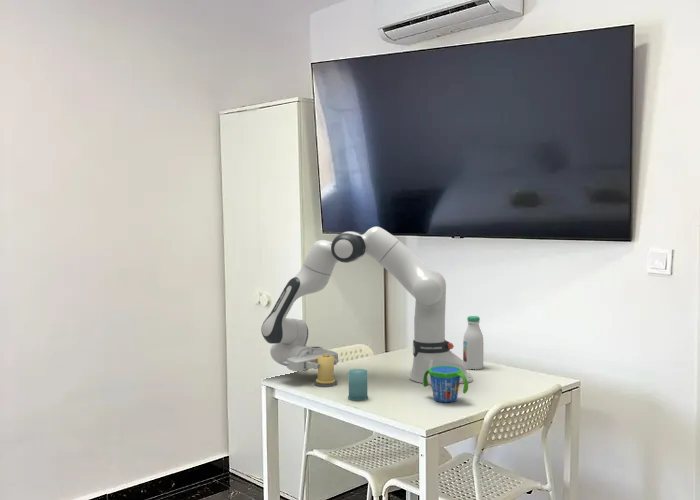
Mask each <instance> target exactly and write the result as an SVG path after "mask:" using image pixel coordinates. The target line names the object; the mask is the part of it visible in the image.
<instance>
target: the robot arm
mask: <svg viewBox="0 0 700 500" xmlns="http://www.w3.org/2000/svg"><path fill="white" fill-rule="evenodd" d="M364 255H368V256H370V257H371V258H372V259H374V260H375V261H376V262H377V263H379V265H381V267H383V268H384V269H385V270H386V271H388V273H390V275H392V276H393V277H394V278H395V279H396V280H397V281H398V282H399V283H400V284H401V285H402V286H403V288H405V290H407V292H408V293H409V294H410V295H411V296H412V297H413V298H414V299H415V302H414V303H415V306H414V318H413V319H414V321H413V324H414V325H413V328H414V330H413V334H414V335H413V336H414V337H413V338H414V339H413V340H412V355H413V359H412V360H413V362H412V367H411V372H410V376H409V379H410V380H411V381H413V382H417V383H422V384H423V378H424V374H425V372H426V371H427V370H429V369H430V368H431V367H435V366H454V367H458V368H460V369H461V371H462V373H463V374H464V375H465V376H466V379H467V382H468V383H471V382H473V376H472V374H471V373H469V372H467V369H466V367H465V364H464V362H463V359H461V358H460V357H459V356H458V355H457V354H455V353H454V352H452V351H451V350H452V349H453V350H454V347H455V346H454V344H453V343H452V342H450V341H448V340H446V303H447V301H446V300H447V297H446V296H447V295H446V294H447V293H446V292H447V283H446V280H445V278H444V276H443V275H442V274H441V273H440V272H438V271H436V270H431V269H430V268H429V267H428V266H427V265H426V264H425V263H423V261H422V260H421V259H420V258H419V257H418V256H417V255H416V254H415V252H413V251H412V249H409V247H407V246H406V244H404V243H403V242H402V241H400V240H399V239H398V238H397V237H396V236H394V235H393V234H391V233H390V232H388V231H387V230H386V229H384V228H383V227H380V226H372V227H370V228H369V229H367V231H365V232H364V233H363V234H362V233H360V232H359V231H353V230H351V231H344V232H342V233H340V234H338V235H336V236H335V237H334V239H332V241H330V240H329V241H328V240H327V239H326V240H325V239H321V240H320V239H319V240H317V241H315V242H314V243H313V245H312V246H311V248H310V250H309V252H308V254H307V255H306V257H305V260H304V262H303V265H302V267H301V268H300V269H299V272H298V273H296V275H294V277H292V278H291V279H290V280H289V281H288V282H287V283H286V285H285V286H284V287H283V290H282V292H281V293H280V295H279V297H278V299H277V301H276V302H275V304H274V306H273V308H272V310H271V312H270V313H269V314H268V316H267V317H266V318H265V320H264V321H263V323H262V326H261V330H260V331H261V335H262V337H263V339H264V341H266V342H267V343H268V344H270V345H271V344H272V345H271V347H270V356H271V358H272V360H273V361H274V362H276V363H277V364H278V365H281V366H283V367H284V366H285V367H286V368H287V369H288V370H291V371H293V372H302V371H303V372H306V371H308V370H310V369H311V370H312V369H314V370H318V368H320V364H319V363H318V356H320V355H323V354H329V355H331V356H334V366H336V365H338V362H339V353H337V351H333V350H330V349H327V348H326V349H325V348H323V347H322V346H306V345H307V342H308V339H309V328H308V326H307V323H306V322H305V320H303V319H297V318H289V317H288V318H287V316H288V314H289V312H290V311H291V308H292V307H293V305H294V303H295V302H296V301H297V300H298V299H300V298H301V297H304V296H306V295H310V294H316V293H318V292H320V291H322V290H323V289H325V288H326V286H327V285H328V283H329V282H330V278H331V276H332V273H333V270H334V269H335V266H336V264H337V262H340V263H345V264H346V263H347V264H348V263H351V262H356V261H358V260H359V259H361V258H362V257H363V256H364ZM427 381H428V385H431V386H432V384H431V377H430V374H429V373H428V375H427ZM459 384H464V382H463V379H462V378H461V377H460V381H459Z"/></svg>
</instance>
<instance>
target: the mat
mask: <svg viewBox="0 0 700 500" xmlns="http://www.w3.org/2000/svg"><path fill="white" fill-rule="evenodd" d="M313 385H314V386H315V387H319V388H320V387H321V388H330V387H335V386H337V385H338V381H337V380H336V379H335V383H332V384H320V383H317V382H316V380H314V381H313Z"/></svg>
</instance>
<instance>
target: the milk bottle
mask: <svg viewBox="0 0 700 500" xmlns="http://www.w3.org/2000/svg"><path fill="white" fill-rule="evenodd" d="M480 319H481V318H480V317H479V316H478V315H469V316H467V319H466V320H467V327H466V329H465V332H464V334H463V339H462V341H463V342H462V343H463V345H462V346H463V347H462V351H463V352H462V355H463V356H462V361H463V362H464V364H465V367H466V370H471V369H473V370H472V371H477V370H482V369H483V368H484V335H483V333H482V331H481V327H480V321H481V320H480ZM474 369H475V370H474Z"/></svg>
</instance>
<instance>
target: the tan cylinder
mask: <svg viewBox="0 0 700 500" xmlns="http://www.w3.org/2000/svg"><path fill="white" fill-rule="evenodd" d="M318 363H319V364H320V368H318V369H317V377H316V379H315V381H316V382H317V383H320V384H332V383H335V380H336V379H335V365H334V356H331V355H329V354H323V355H320V356H318Z"/></svg>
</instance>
